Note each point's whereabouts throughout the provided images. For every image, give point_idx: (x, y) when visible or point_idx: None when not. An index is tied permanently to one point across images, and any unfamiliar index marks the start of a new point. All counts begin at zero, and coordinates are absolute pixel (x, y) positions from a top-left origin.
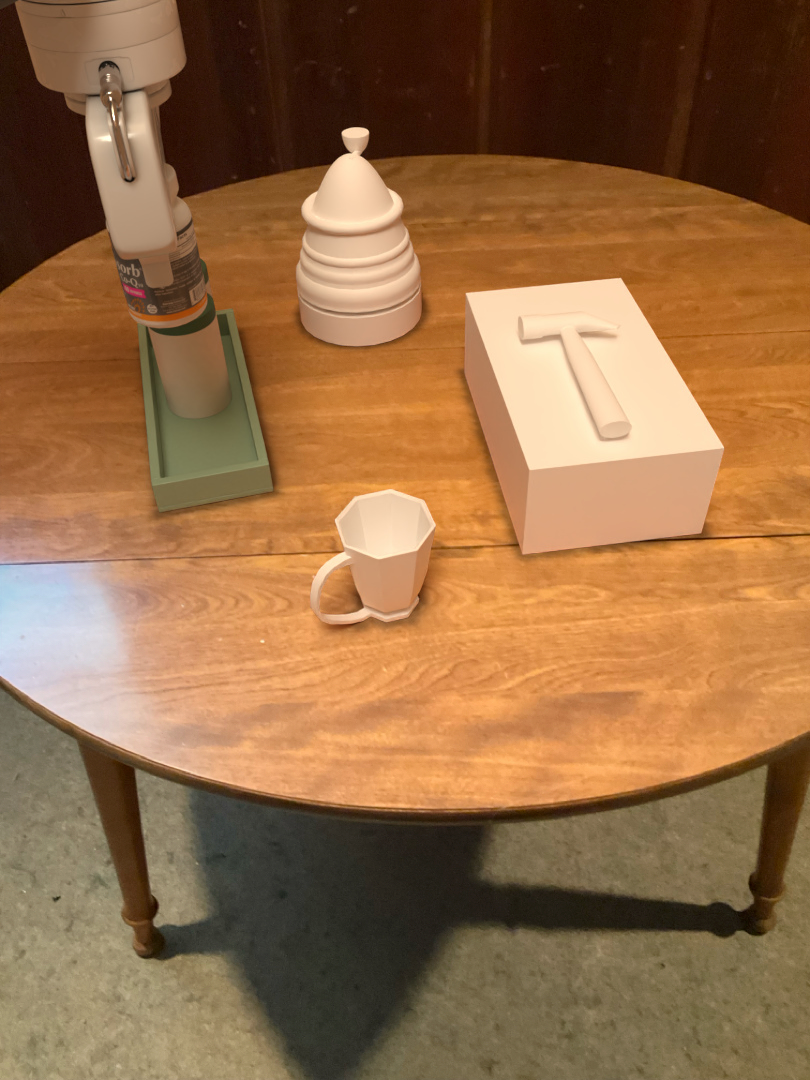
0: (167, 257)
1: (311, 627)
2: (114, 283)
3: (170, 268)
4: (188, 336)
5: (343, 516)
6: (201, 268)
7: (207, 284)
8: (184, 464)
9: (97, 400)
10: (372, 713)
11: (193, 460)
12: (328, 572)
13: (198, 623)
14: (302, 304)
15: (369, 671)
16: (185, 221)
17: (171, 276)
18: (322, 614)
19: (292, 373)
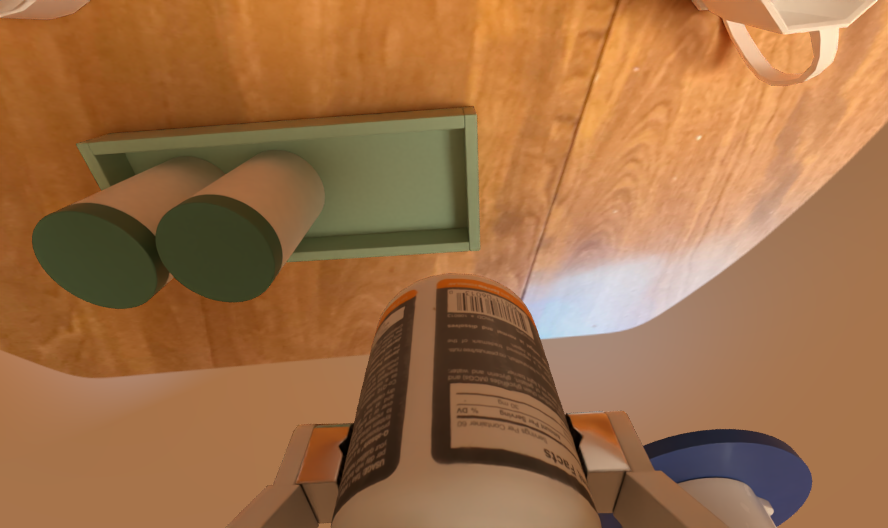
0: (678, 487)
1: (709, 81)
2: (20, 287)
3: (642, 446)
4: (280, 235)
5: (780, 16)
6: (471, 326)
7: (109, 204)
8: (410, 209)
9: (278, 293)
10: (861, 24)
11: (404, 200)
12: (833, 57)
13: (644, 198)
14: (26, 11)
15: None
16: (540, 488)
17: (631, 426)
18: (759, 69)
19: (207, 53)
